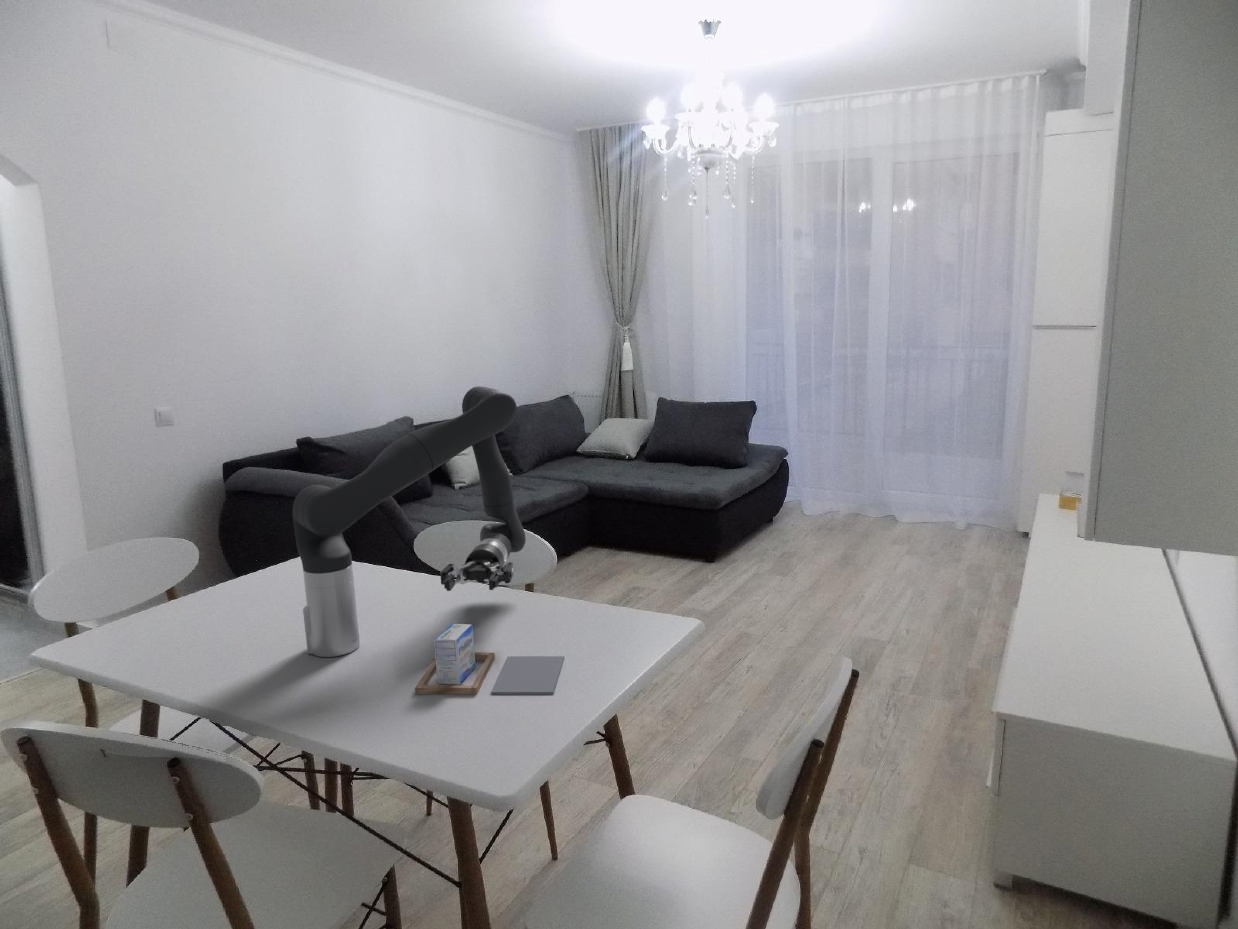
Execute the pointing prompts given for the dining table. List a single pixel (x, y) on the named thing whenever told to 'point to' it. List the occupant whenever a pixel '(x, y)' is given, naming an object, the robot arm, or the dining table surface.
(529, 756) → the dining table surface
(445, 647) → the medicine box
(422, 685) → the walnut tray
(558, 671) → the charcoal mat
